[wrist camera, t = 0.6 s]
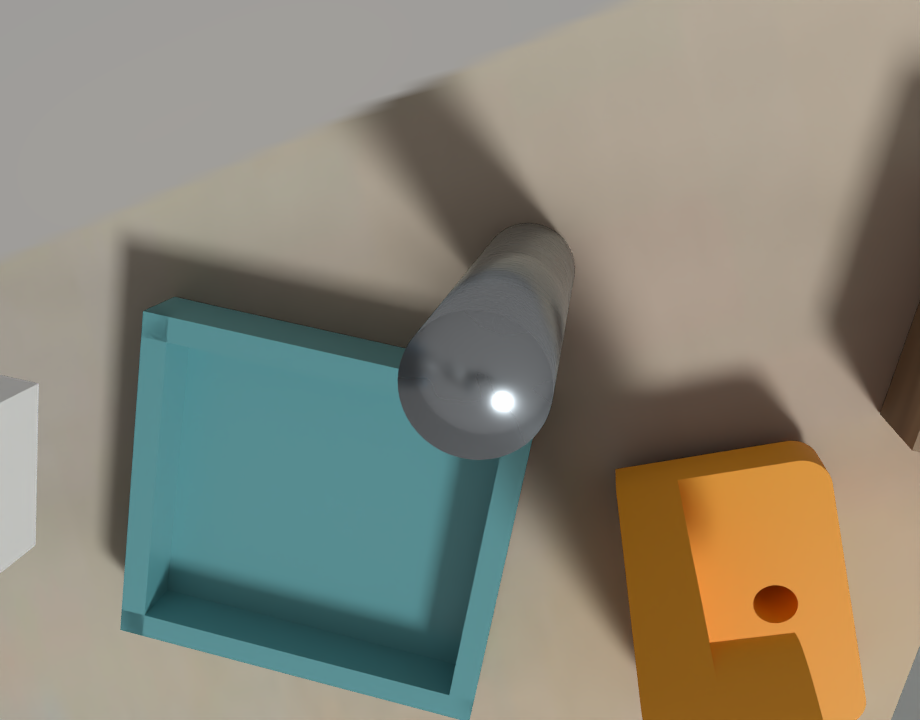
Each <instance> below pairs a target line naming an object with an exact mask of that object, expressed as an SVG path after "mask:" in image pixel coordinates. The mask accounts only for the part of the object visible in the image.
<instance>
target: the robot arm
mask: <svg viewBox="0 0 920 720" xmlns="http://www.w3.org/2000/svg"><path fill="white" fill-rule="evenodd" d="M38 394H39V383H35V382H30V381H26V380H21V379H17V378H12V377H8V376H3V375H0V573H1V572H2V571H4V570H5V569H6V568H7V567H9V566H10V565H11V564H12V563H14V562H15V561H16V560H17V559H19V558H20V557H21V556H23V555H24V554H25V553H26V552H28V551H29V550H30V549H31V548H33V547H34V546H35V545H36V495H37V444H38ZM891 720H920V647H919V649H918V652H917V655H916V657H915V660H914V662H913V665H912V667H911V670H910V673H909V675H908V678H907V680H906V683H905V686H904V688H903V691H902V693H901V696H900V699H899V701H898V704H897V706H896V709H895V711H894V714H893V717H892V719H891Z"/></svg>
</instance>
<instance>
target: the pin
mask: <svg viewBox="0 0 920 720" xmlns="http://www.w3.org/2000/svg"><path fill="white" fill-rule="evenodd" d="M574 274H575V265H574V259H573V255H572V253H571V250H570V248H569V246H568V245H567V243H566V242H565V241H564V239H563V238H562V237H561V236H560V235H559V234H557V233H556V232H555V231H553V230H551V229H550V228H548V227H545V226H542V225H539V224H532V223H524V224H518V225H514V226H511V227H509V228H507V229H505V230H503V231H502V232H501V233H499V234H498V235H497V236H496V237H495V238H494V239H493V240H492V241H491V243H490V244H489V245H488V246H487V248H486V249H485V250H484V251H483V252H482V254H481V255H480V256H479V257H478V259H477V260H476V261H475V262H474V263H473V265H472V266H471V267H470V268H469V270H468V271H467V272H466V273H465V275H464V276H463V277H462V278H461V279H460V281H459V282H458V283H457V284H456V286H455V287H454V288H453V289H452V290H451V292H450V293H449V294H448V295H447V297H446V298H445V299H444V300H443V301H442V303H441V304H440V305H439V306H438V308H437V309H436V310H435V311H434V312H433V314H432V315H431V316H430V317H429V319H428V320H427V321H426V322H425V323H424V325H423V326H422V327H421V328H420V330H419V331H418V332H417V333H416V334H415V336H414V337H413V338H412V340H411V341H410V342H409V344H408V346H407V347H406V349H405V351H404V353H403V356H402V358H401V361H400V366H399V370H398V393H399V398H400V402H401V405H402V408H403V410H404V412H405V415H406V417H407V418H408V420H409V422H410V423H411V425H412V426H413V427H414V429H415V430H416V431H417V432H418V434H419V435H421V436H422V437H423V438H424V439H425V440H426V441H427V442H428V443H430V444H431V445H432V446H434V447H436V448H437V449H439V450H441V451H443V452H445V453H447V454H450V455H453V456H456V457H459V458H464V459H470V460H487V459H494V458H499V457H502V456H505V455H508V454H510V453H512V452H514V451H516V450H518V449H520V448H521V447H523V446H524V445H526V444H527V443H528V442H529V441H530V440H531V439H533V438H534V436H535V435H536V434H537V433H538V432H539V431H540V429H541V428H542V426H543V424H544V423H545V421H546V419H547V417H548V414H549V411H550V408H551V405H552V400H553V394H554V388H555V383H556V377H557V371H558V366H559V360H560V354H561V349H562V343H563V337H564V332H565V326H566V320H567V314H568V309H569V303H570V297H571V292H572V286H573V280H574Z"/></svg>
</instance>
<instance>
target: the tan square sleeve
mask: <svg viewBox="0 0 920 720" xmlns="http://www.w3.org/2000/svg"><path fill="white" fill-rule="evenodd" d="M880 415H881V416H882V417H883V418H884V419H885V420H886V421H887V422H888V424H889V425H890V426H891V427H892V428H893V429H894V430H895V431H896V433H897V434H898V435H899V436H900V437H901V438H902V439H903V441H904V442H905V443H906V444H907V445H908V446H909V447H910V448H911V450H913V451H917V452H920V302H919V305H918V308H917V311H916V314H915V316H914V319H913V322H912V325H911V328H910V330H909V333H908V336H907V339H906V342H905V345H904V347H903V350H902V353H901V356H900V359H899V361H898V364H897V367H896V370H895V373H894V376H893V378H892V381H891V384H890V387H889V390H888V393H887V395H886V398H885V401H884V404H883V407H882V409H881V412H880Z"/></svg>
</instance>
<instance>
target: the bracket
mask: <svg viewBox="0 0 920 720" xmlns="http://www.w3.org/2000/svg"><path fill="white" fill-rule="evenodd" d="M615 471H616V494H617V503H618V511H619V520H620V529H621V538H622V546H623V555H624V564H625V573H626V581H627V590H628V599H629V608H630V616H631V625H632V634H633V643H634V651H635V660H636V669H637V677H638V686H639V695H640V703H641V711H642V718H643V720H857V719H858V718H859V717H860V716H861V715H862V713H863V712H864V709H865V706H866V697H865V691H864V684H863V678H862V671H861V665H860V658H859V652H858V645H857V639H856V632H855V626H854V619H853V613H852V606H851V600H850V593H849V587H848V580H847V574H846V567H845V561H844V554H843V548H842V541H841V535H840V528H839V522H838V515H837V509H836V502H835V496H834V489H833V483H832V479H831V477H830V475H829V473H828V472H827V470H826V468H825V467H824V465H823V463H822V462H821V460H820V458H819V457H818V455H817V453H816V452H815V451H814V450H813V449H812V448H811V447H810V446H808V445H807V444H805V443H802V442H799V441H784V442H778V443H772V444H766V445H760V446H753V447H747V448H741V449H735V450H729V451H723V452H717V453H711V454H705V455H699V456H693V457H687V458H681V459H674V460H668V461H662V462H656V463H650V464H644V465H638V466H632V467H626V468H620V469H615Z"/></svg>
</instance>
